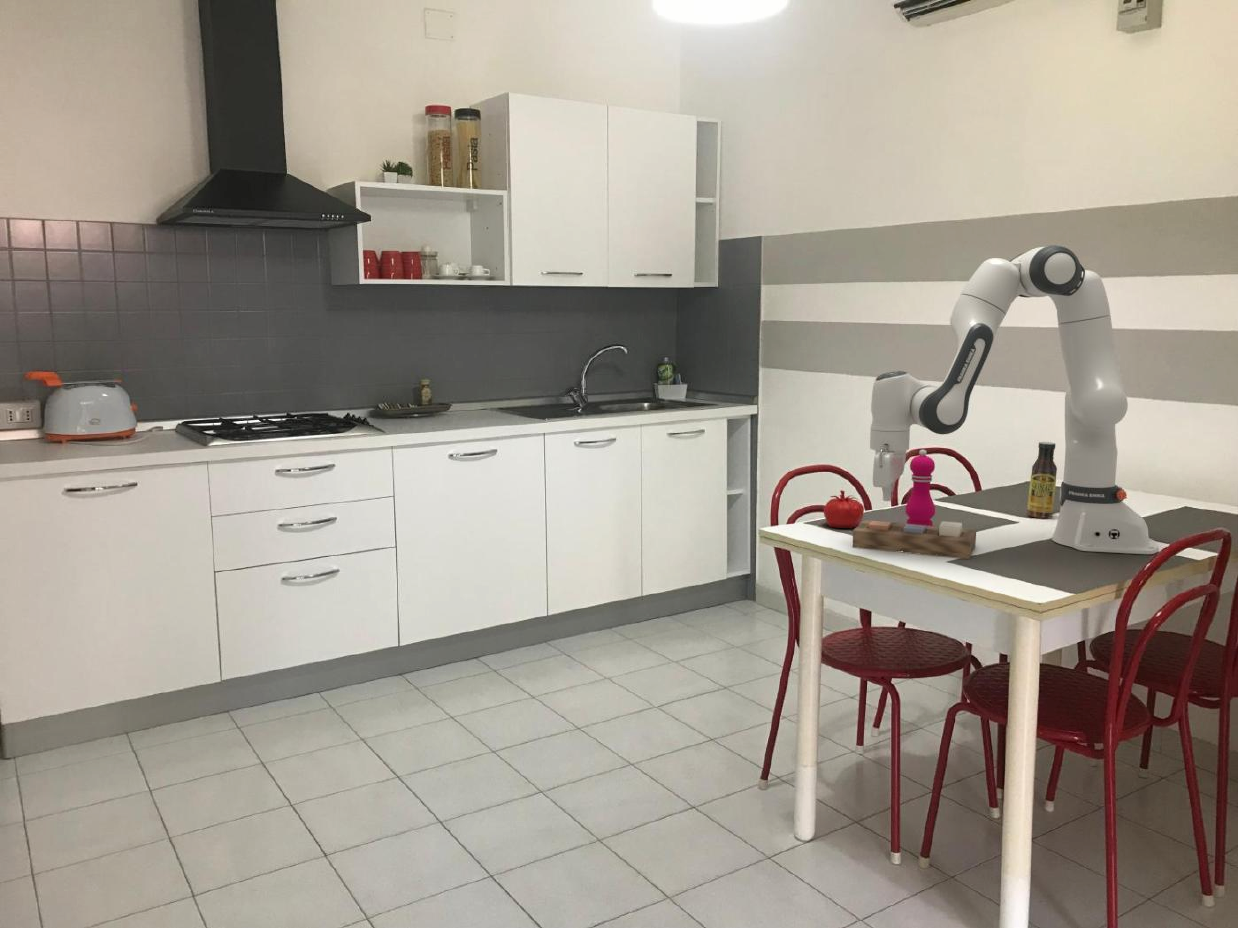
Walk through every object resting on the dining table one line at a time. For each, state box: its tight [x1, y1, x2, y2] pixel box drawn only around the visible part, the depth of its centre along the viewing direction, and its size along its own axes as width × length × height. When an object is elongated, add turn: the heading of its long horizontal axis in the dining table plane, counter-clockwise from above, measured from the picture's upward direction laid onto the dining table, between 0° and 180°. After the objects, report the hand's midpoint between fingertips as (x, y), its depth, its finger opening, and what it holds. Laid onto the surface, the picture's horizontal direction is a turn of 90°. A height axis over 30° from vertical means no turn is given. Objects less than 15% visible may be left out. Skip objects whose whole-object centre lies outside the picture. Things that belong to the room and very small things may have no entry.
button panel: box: [852, 519, 977, 560], centre depth 234 cm, size 26×12×4 cm, turn 65°
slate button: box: [903, 523, 926, 534], centre depth 234 cm, size 4×4×4 cm
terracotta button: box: [869, 520, 892, 530], centre depth 237 cm, size 4×4×4 cm
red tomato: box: [823, 490, 865, 529], centre depth 255 cm, size 10×10×9 cm
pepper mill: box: [905, 449, 936, 526], centre depth 252 cm, size 7×7×20 cm
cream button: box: [939, 520, 963, 537], centre depth 230 cm, size 4×4×4 cm
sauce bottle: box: [1026, 441, 1058, 519], centre depth 264 cm, size 6×6×20 cm
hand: (887, 499), depth 235 cm, fingers closed
